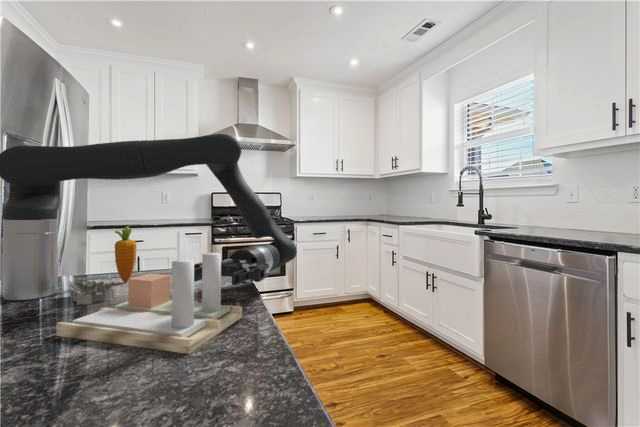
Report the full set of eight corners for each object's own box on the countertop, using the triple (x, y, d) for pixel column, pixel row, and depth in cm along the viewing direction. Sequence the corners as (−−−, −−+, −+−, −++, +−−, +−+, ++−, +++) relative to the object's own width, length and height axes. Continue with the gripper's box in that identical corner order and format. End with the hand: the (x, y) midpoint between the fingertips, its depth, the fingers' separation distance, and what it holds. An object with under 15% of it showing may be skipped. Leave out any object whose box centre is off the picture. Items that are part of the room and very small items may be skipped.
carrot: (126, 285, 85) (126, 227, 84) (109, 284, 86) (110, 226, 85) (140, 281, 89) (140, 226, 89) (124, 280, 90) (125, 225, 90)
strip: (72, 326, 53) (72, 258, 52) (105, 314, 58) (105, 253, 58) (181, 340, 48) (181, 265, 48) (205, 325, 54) (205, 258, 53)
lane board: (56, 335, 52) (56, 323, 52) (135, 306, 68) (135, 296, 68) (189, 353, 46) (189, 339, 46) (241, 317, 62) (242, 306, 62)
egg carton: (116, 301, 72) (117, 282, 72) (74, 308, 67) (74, 288, 67) (106, 291, 80) (106, 274, 80) (68, 296, 75) (67, 278, 74)
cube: (128, 306, 60) (128, 279, 60) (148, 298, 65) (148, 273, 65) (151, 308, 59) (151, 280, 59) (170, 300, 64) (170, 275, 64)
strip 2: (114, 311, 60) (114, 251, 60) (139, 302, 66) (140, 247, 66) (212, 321, 56) (212, 257, 55) (229, 310, 62) (230, 252, 61)
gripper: (223, 245, 77) (177, 255, 61) (281, 248, 73) (248, 259, 57) (223, 277, 77) (177, 295, 61) (280, 281, 73) (248, 302, 58)
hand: (212, 277), depth 59 cm, fingers open, 8 cm apart
